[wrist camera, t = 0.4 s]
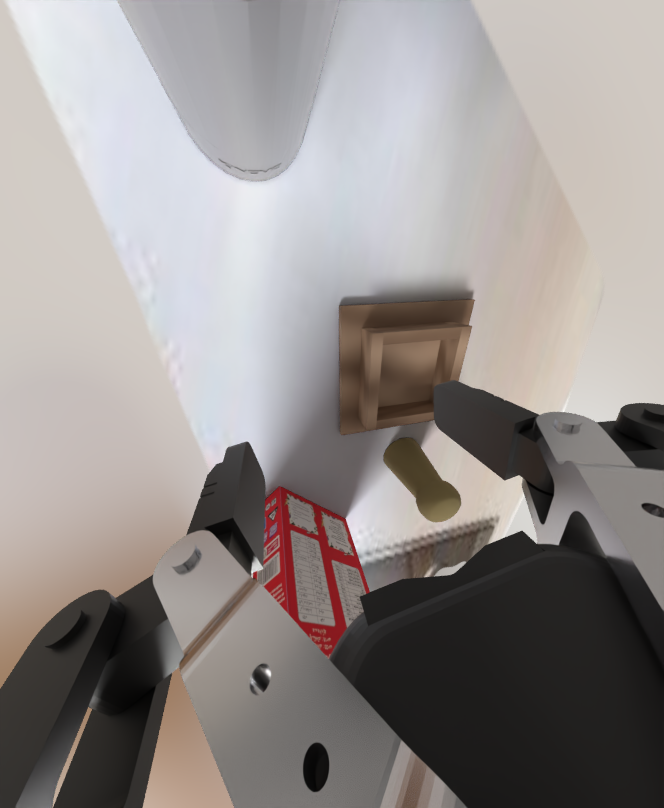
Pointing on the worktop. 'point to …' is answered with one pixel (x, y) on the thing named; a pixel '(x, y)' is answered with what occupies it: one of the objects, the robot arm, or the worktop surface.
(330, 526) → the food packaging
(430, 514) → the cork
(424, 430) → the worktop surface
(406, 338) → the shaker holder
